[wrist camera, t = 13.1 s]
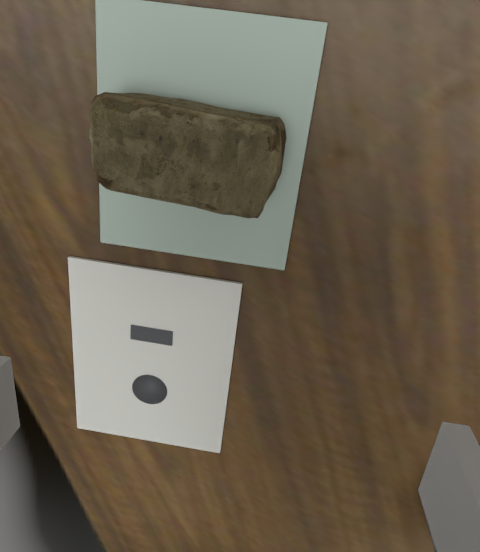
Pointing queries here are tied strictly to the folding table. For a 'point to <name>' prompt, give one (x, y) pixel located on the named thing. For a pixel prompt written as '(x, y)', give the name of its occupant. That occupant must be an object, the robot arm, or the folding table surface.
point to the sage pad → (217, 92)
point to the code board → (152, 351)
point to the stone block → (186, 152)
